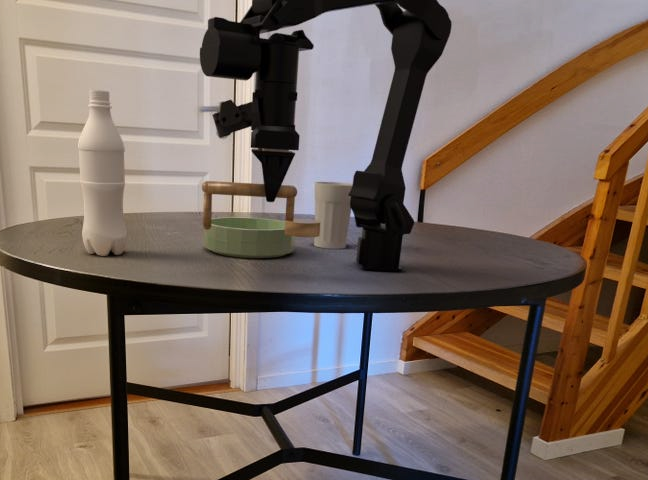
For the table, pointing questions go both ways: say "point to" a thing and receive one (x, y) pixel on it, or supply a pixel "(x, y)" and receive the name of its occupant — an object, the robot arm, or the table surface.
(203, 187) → the wooden dowel frame
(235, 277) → the table surface
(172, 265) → the table surface
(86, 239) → the water bottle
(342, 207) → the cup
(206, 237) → the bowl
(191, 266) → the table surface
